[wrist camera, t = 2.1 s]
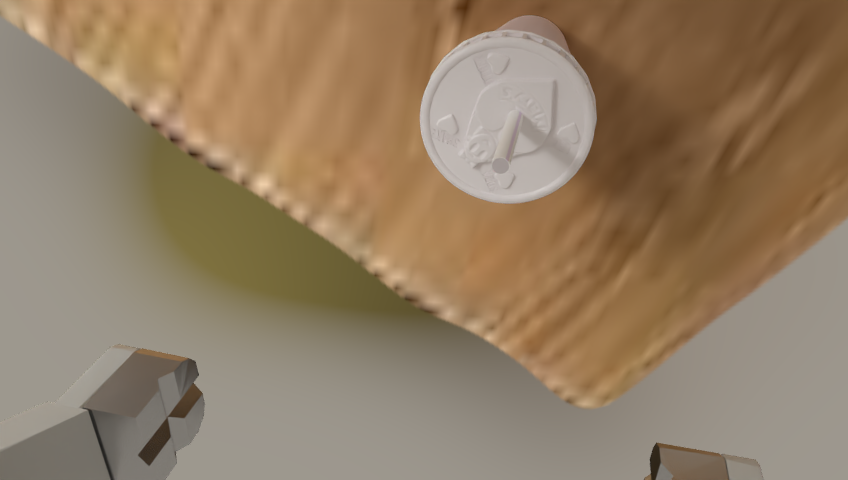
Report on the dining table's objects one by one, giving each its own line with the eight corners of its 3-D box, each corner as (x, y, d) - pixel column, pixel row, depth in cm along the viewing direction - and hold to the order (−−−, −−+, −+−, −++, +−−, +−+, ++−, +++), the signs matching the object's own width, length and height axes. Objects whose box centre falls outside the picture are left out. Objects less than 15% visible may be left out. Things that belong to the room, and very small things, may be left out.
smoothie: (626, 54, 31) (643, 183, 19) (526, 143, 34) (489, 300, 22) (530, -48, 30) (485, 24, 18) (436, 55, 33) (345, 172, 21)
